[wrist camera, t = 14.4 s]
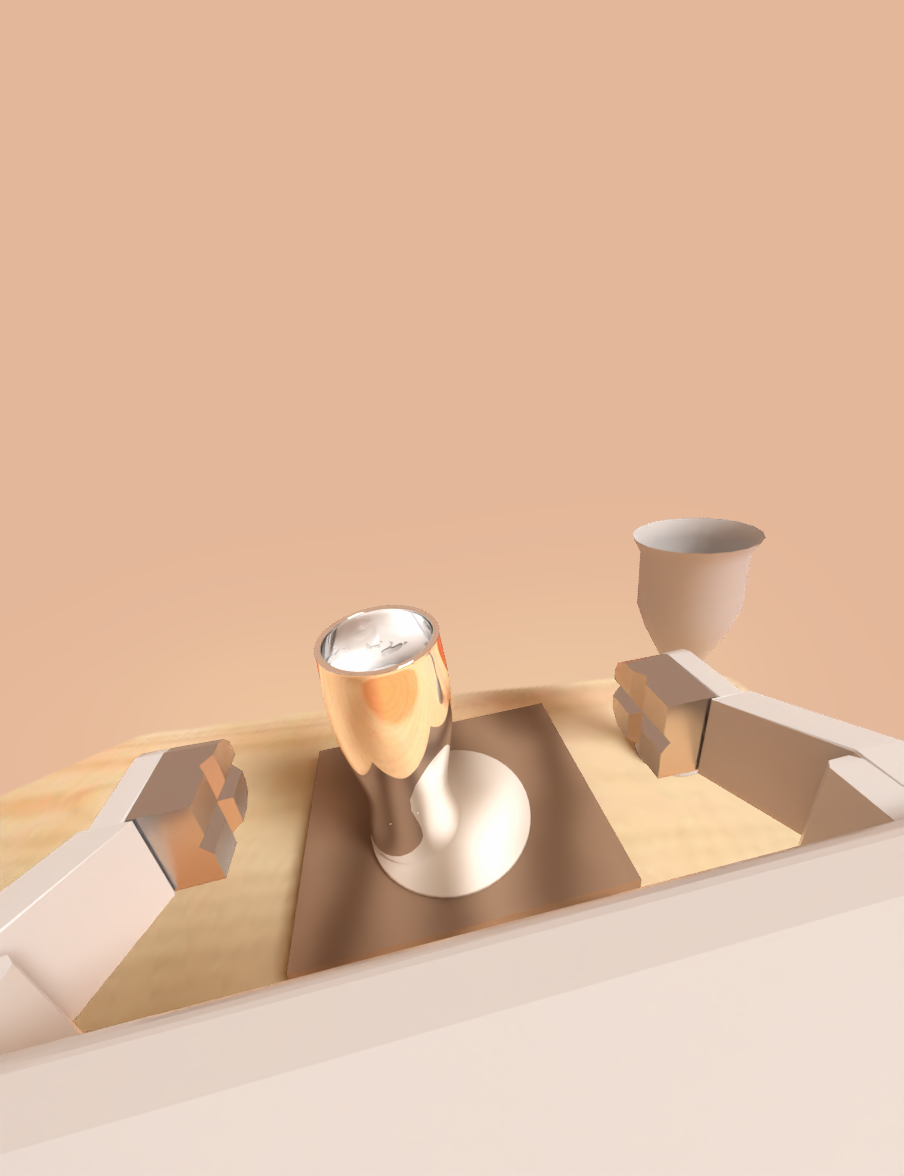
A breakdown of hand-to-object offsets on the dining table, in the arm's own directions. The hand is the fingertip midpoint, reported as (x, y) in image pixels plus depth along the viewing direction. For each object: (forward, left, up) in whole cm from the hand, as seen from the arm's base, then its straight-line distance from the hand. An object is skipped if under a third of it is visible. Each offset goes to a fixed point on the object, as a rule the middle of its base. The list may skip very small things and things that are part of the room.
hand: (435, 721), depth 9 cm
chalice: (+18, +16, -22) cm, 32 cm away
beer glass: (-2, +14, -20) cm, 24 cm away
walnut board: (0, +15, -22) cm, 26 cm away
